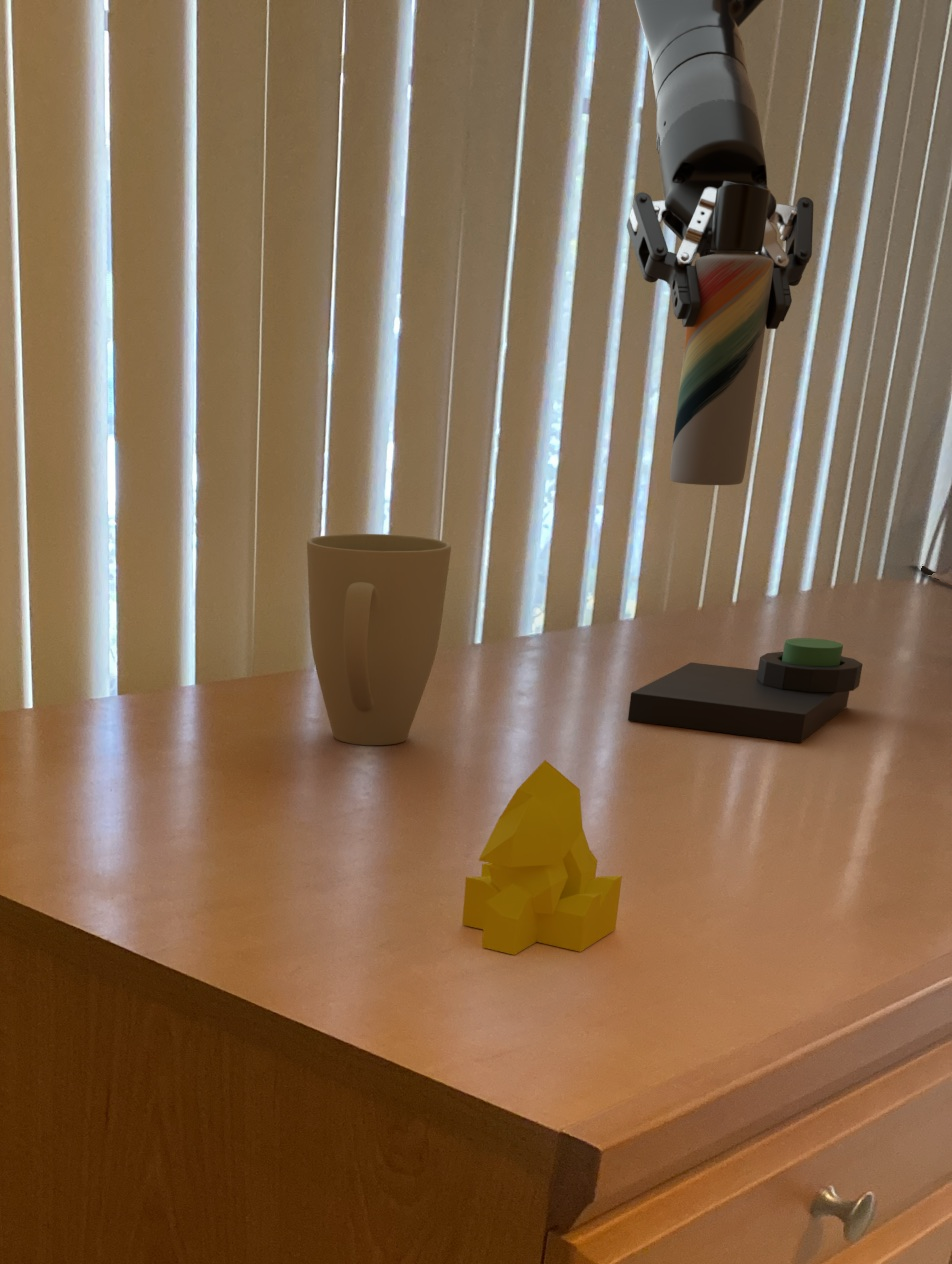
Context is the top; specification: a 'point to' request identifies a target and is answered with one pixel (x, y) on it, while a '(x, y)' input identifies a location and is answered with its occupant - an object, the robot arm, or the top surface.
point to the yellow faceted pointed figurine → (541, 873)
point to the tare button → (812, 652)
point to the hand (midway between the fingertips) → (734, 318)
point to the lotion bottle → (724, 343)
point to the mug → (375, 629)
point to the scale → (749, 698)
